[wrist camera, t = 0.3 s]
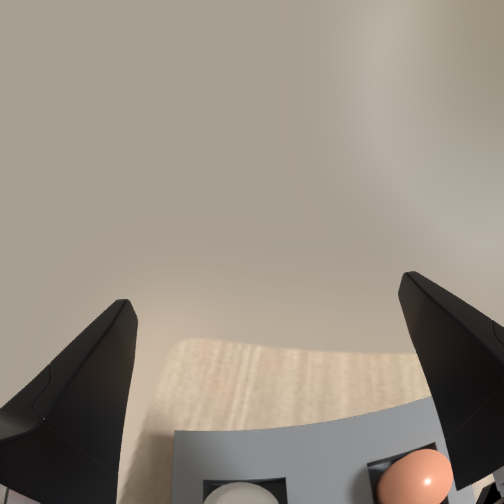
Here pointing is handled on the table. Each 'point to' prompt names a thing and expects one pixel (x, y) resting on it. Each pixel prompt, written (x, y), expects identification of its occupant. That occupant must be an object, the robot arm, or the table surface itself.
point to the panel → (309, 457)
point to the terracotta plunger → (415, 479)
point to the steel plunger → (240, 495)
